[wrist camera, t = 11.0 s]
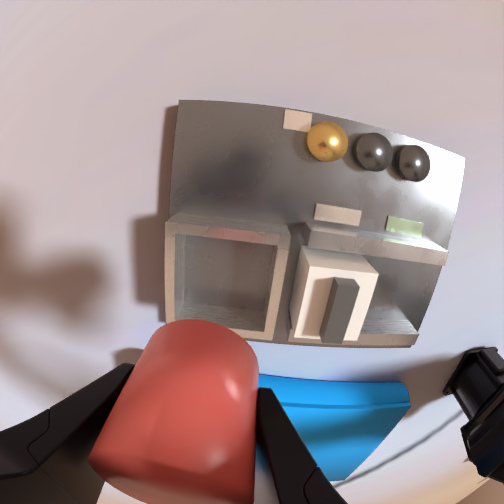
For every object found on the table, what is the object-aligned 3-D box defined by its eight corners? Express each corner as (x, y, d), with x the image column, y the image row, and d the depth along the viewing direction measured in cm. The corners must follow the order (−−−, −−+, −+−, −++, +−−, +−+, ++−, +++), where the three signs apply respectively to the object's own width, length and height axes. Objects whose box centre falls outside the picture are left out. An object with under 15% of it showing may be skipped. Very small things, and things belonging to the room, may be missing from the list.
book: (345, 479, 25) (147, 464, 24) (340, 455, 29) (155, 439, 28) (415, 400, 20) (128, 375, 19) (400, 371, 24) (144, 343, 23)
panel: (405, 339, 21) (422, 365, 18) (173, 320, 21) (159, 349, 18) (455, 157, 16) (486, 161, 13) (184, 103, 16) (166, 91, 12)
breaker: (343, 311, 19) (361, 350, 15) (288, 307, 19) (295, 347, 15) (359, 252, 18) (385, 281, 13) (300, 245, 17) (313, 273, 13)
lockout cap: (250, 408, 10) (243, 521, 5) (152, 391, 10) (111, 492, 5) (266, 328, 8) (267, 476, 4) (142, 309, 8) (65, 427, 4)
